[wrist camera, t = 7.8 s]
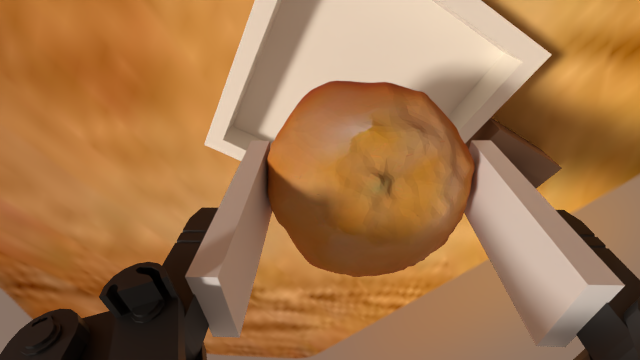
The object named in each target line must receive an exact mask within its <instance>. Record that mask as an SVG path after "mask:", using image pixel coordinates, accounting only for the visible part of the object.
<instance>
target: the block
mask: <svg viewBox="0 0 640 360" xmlns="http://www.w3.org/2000/svg"><path fill="white" fill-rule="evenodd" d="M471 140H491V141H492V142H493V143H494V144H495V145H496V146H497V147H498V149H499V150H500V151H501V152H502V153H503V154H504V155H505V156H506V157H507V158H508V159H509V160H510V162H511V163H512V164H513V165H514V166H515V167H516V168H517V169H518V170H519V171H520V172H521V173H522V175H523V176H524V177H525V178H526V179H527V180H528V181H529V182H530V183H531V184H532V185H533V186H534V188H535V189H536V188H537V187H538V186H540V185H541V184H542V183H543V182H545V181H546V180H547V179H549V178H550V177H551V176H552V175H554V174H555V173H556V172H558V171H559V170H560V169H561V167H560V166H559V165H558V164H557V163H555V162H554V161H553V160H552V159H551V158H550V157H549V156H547V155H546V154H545V153H544V152H543V151H542V150H540V149H539V148H537V147H536V146H534V145H533V144H531V143H529V142H528V141H526V140H525V139H523V138H522V137H520V136H518V135H517V134H515V133H514V132H512V131H511V130H509V129H507V128H506V127H504V126H503V125H501V124H500V123H498V122H496V121H495V120H493V119H492V118H490V119H489V120H488V121H487V122H486V123H485V124H484V125H483V126H482V127H481V128H480V129H479V130H478V131H477V132H476V133H475V134H474V135H473V136H472V137H471V138H470V139H469V140H468V141H467V142H466V143H465V144H466V146H467V147H468V149H469V147H470V143H471Z"/></svg>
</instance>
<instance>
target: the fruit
mask: <svg viewBox="0 0 640 360" xmlns="http://www.w3.org/2000/svg"><path fill="white" fill-rule="evenodd" d="M267 162H268V191H267V192H268V197H269V201H270V205H271V209H272V211H273V212H274V214H275V217H276V219H277V221H278V222H279V223H280V224H281V225H282V226H283V227H284V228H285V229H286V231H287V232H288V234H289V236H290V238H291V239H292V241H293V243H294V244H295V246H296V247H297V249H298V250H299V251H300V253H301V254H302V255H303V256H304V258H305V259H306V260H307V261H308V262H309V263H310V264H312V265H313V266H315V267H317V268H320V269H324V270H327V271H330V272H334V273H338V274H347V275H350V276H353V277H362V276H377V275H382V274H389V273H394V272H397V271H400V270H404V269H405V268H407V267H408V266H414V265H415V264H416V263H418V262H419V261H422V260H424V259H425V258H426V257H427V256H429V254H430V253H432V252H434V251H436V250H437V249H438V248H440V247H441V246H442V245H444V244H445V243H446V241H447V240H448V238H449V235H450V234H451V233H452V232H453V231H454V229H455V227H456V226H457V224H458V223H459V222H460V220H461V219H462V216H463V213H464V211H465V209H466V205H467V200H468V197H469V194H470V190H471V183H472V176H473V173H474V170H475V163H474V160H473V158H472V155H471V154H470V152H469V149H468V147H467V146H466V144H465V143H464V142H463V140H462V138H461V137H460V135H459V132H458V130H457V128H456V127H455V125H454V124H453V123H452V122H451V121H450V119H449V118H448V117H447V116H446V115H445V114H444V113H443V111H442V110H441V109H440V108H439V107H438V106H437V105H436V104H435V103H434V102H433V101H432V100H431V99H430V98H429V96H428V95H427V94H425V93H424V92H421V91H416V90H412V89H409V88H406V87H403V86H399V85H396V84H393V83H389V82H375V83H366V82H354V81H330V82H327V83H325V84H323V85H321V86H318V87H316V88H314V89H312V90H311V91H310V92H308V93H307V94H306V95H305V96H304V97H303V98H302V99H301V100H300V102H299V103H298V104H297V106H296V107H295V109H294V110H293V111H292V113H291V114H290V116H289V117H288V119H287V120H286V122H285V123H284V125H283V126H282V128H281V130H280V131H279V133H278V134H277V136H276V138H275V140H274V141H273V142H272V144H271V148H270V152H269V154H268V158H267Z"/></svg>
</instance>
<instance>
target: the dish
mask: <svg viewBox="0 0 640 360" xmlns="http://www.w3.org/2000/svg"><path fill="white" fill-rule="evenodd" d="M551 55H552V54H550V53H549V52H548V51H546V50H545V49H544V48H543V47H541V46H540V45H539V44H537V43H536V42H535V41H533V40H532V39H531V38H530V37H528V36H527V35H526V34H524V33H523V32H522V31H520V30H519V29H518V28H517V27H515V26H514V25H513V24H511V23H510V22H509V21H507V20H506V19H505V18H503V17H502V16H501V15H500V14H498V13H497V12H496V11H494V10H493V9H492V8H490V7H489V6H488V5H487V4H485V3H484V2H483V1H481V0H255V2H254V4H253V7H252V10H251V13H250V16H249V19H248V22H247V24H246V27H245V30H244V33H243V36H242V39H241V41H240V44H239V47H238V50H237V53H236V56H235V59H234V61H233V64H232V67H231V70H230V73H229V76H228V78H227V81H226V84H225V87H224V90H223V93H222V96H221V98H220V101H219V104H218V107H217V110H216V113H215V115H214V118H213V121H212V124H211V127H210V130H209V133H208V135H207V138H206V141H205V144H204V145H206V146H208V147H211V148H213V149H215V150H217V151H220V152H222V153H224V154H226V155H228V156H231V157H233V158H235V159H237V160H240V161H242V159H243V157H244V155H245V153H246V151H247V149H248V147H249V144H250V142H251V141H270V148H271V144H272V142H273V141H274V140H275V138H276V136H277V134H278V133H279V131H280V130H281V128H282V126H283V125H284V123H285V122H286V120H287V119H288V117H289V116H290V114H291V113H292V111H293V110H294V109H295V107H296V106H297V104H298V103H299V102H300V100H301V99H302V98H303V97H304V96H305V95H306V94H307V93H308V92H310V91H311V90H312V89H314V88H316V87H318V86H321V85H323V84H325V83H327V82H330V81H354V82H366V83H375V82H389V83H393V84H396V85H399V86H403V87H406V88H409V89H412V90H416V91H421V92H424V93H425V94H427V95H428V96H429V98H430V99H431V100H432V101H433V102H434V103H435V104H436V105H437V106H438V107H439V108H440V109H441V110H442V111H443V113H444V114H445V115H446V116H447V117H448V118H449V119H450V121H451V122H452V123H453V124H454V125H455V127H456V128H457V130H458V132H459V135H460V137H461V138H462V140H463V142H464V143H466V142H467V141H468V140H469V139H470V138H471V137H472V136H473V135H474V134H475V133H476V132H477V131H478V130H479V129H480V128H481V127H482V126H483V125H484V124H485V123H486V122H487V121H488V120H489V119H490V118H491V117H492V116H493V115H494V113H495V112H496V111H497V110H498V109H499V108H500V107H501V106H502V105H503V104H504V103H505V102H506V101H507V100H508V99H509V98H510V97H511V96H512V95H513V94H514V93H515V92H516V91H517V90H518V89H519V88H520V87H521V86H522V85H523V84H524V83H525V82H526V81H527V80H528V79H529V78H530V77H531V76H532V75H533V73H534V72H535V71H536V70H537V69H538V68H539V67H540V66H541V65H542V64H543V63H544V62H545V61H546V60H547V59H548V58H549V57H550V56H551Z"/></svg>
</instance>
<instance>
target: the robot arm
mask: <svg viewBox="0 0 640 360" xmlns="http://www.w3.org/2000/svg"><path fill="white" fill-rule="evenodd" d="M269 152H270V141H251V142H250V144H249V147H248V149H247V151H246V153H245V155H244V157H243V159H242V161H241V163H240V165H239V167H238V169H237V171H236V173H235V175H234V177H233V179H232V181H231V183H230V185H229V188H228V190H227V192H226V194H225V196H224V198H223V200H222V202H221V204H220V206H219V208H201V209H200V210H199V211H198V212H196V213H195V214H194V215H193V216H192V217H191V218H190V219H189V221H188V222H187V224H186V226H185V227H184V229H183V233H181V234H180V236H179V238H178V239H177V243H175V245H174V246H173V248H172V250H171V251H170V253H169V255H168V256H167V258H166V260H165V262H164V263H163V265H162V266H161V265H160V264H158V263H153V262H145V263H138V264H135V265H133V266H130V267H128V268H126V269H124V270H122V271H121V272H119V273H118V274H117V275H115V276H114V277H113V278H112V279H111V280H110V281H109V282H108V283H107V284H106V285H105V286H104V288H103V290H102V292H101V294H100V296H99V298H100V299H101V300H102V302H103V303H104V304H105V305H106V307H107V308H108V309H109V310H110V311H108V312H104V313H100V314H97V315H93V316H89V317H85V318H81V317H80V316H79V315H78V314H77V313H75V312H74V311H72V310H71V309H58V310H54V311H51V312H47V313H45V314H43V315H41V316H39V317H37V318H35V319H33V320H32V321H31V322H30V323H28V324H27V325H26V326H24V327H23V328H22V329H20V330H19V331H18V333H17V334H16V335H15V336H14V337H13V338H12V339H11V340H10V341H9V343H8V344H7V345H6V347H5V348H4V350H3V351H2V353H1V354H0V360H207V357H206V349H205V345H204V342H203V341H204V338H205V335H206V332H207V329H208V327H209V329H210V331H211V333H212V335H213V337H240V334H241V330H242V326H243V322H244V318H245V314H246V310H247V307H248V303H249V299H250V295H251V291H252V287H253V283H254V279H255V276H256V272H257V268H258V264H259V260H260V256H261V252H262V248H263V245H264V241H265V237H266V233H267V229H268V225H269V221H270V217H271V214H272V209H271V205H270V201H269V197H268V192H267V191H268V162H267V158H268V154H269ZM469 152H470V154H471V155H472V158H473V160H474V163H475V170H474V173H473V176H472V183H471V190H470V194H469V197H468V200H467V205H466V209H465V211H464V213H465V215H466V216H467V218H468V220H469V222H470V224H471V226H472V228H473V229H474V231H475V233H476V235H477V237H478V239H479V241H480V242H481V244H482V246H483V248H484V250H485V252H486V254H487V255H488V257H489V259H490V261H491V263H492V265H493V267H494V268H495V270H496V272H497V274H498V276H499V278H500V279H501V282H502V283H503V285H504V287H505V289H506V291H507V293H508V295H509V296H510V298H511V300H512V302H513V304H514V306H515V307H516V309H517V311H518V313H519V315H520V317H521V319H522V321H523V322H524V324H525V326H526V328H527V330H528V332H529V333H530V335H531V337H532V339H533V341H534V343H535V345H536V346H551V347H555V346H556V347H566V346H567V345H568V344H569V343H570V341H572V340H573V339H574V338H575V337H576V336H578V338H579V339H580V341H581V342H582V344H583V345H584V347H585V349H584V350H583V351H582V352H581V353H580V354H579V355H578V356H577V357H576V358H575V359H573V360H640V280H639V279H638V278H637V277H636V276H635V275H634V274H633V273H632V272H631V271H630V270H629V269H628V268H627V267H626V266H625V265H624V264H623V263H622V262H621V261H620V260H619V259H618V258H617V257H616V256H615V255H614V254H613V253H612V252H611V251H610V250H609V249H606V248H605V244H604V243H603V242H602V241H601V240H599V238H598V237H595V236H594V233H593V232H592V231H591V230H590V229H589V228H588V227H587V226H586V225H585V224H584V223H583V222H582V221H580V220H579V219H577V218H576V217H574V216H572V215H571V214H569V213H568V212H566V211H565V210H555V209H554V208H553V207H552V206H551V205H550V204H549V203H548V202H547V200H546V199H545V198H544V197H543V196H542V195H541V194H540V193H539V192H538V191H537V190H536V189H535V188H534V186H533V185H532V184H531V183H530V182H529V181H528V180H527V179H526V178H525V177H524V176H523V175H522V173H521V172H520V171H519V170H518V169H517V168H516V167H515V166H514V165H513V164H512V163H511V162H510V160H509V159H508V158H507V157H506V156H505V155H504V154H503V153H502V152H501V151H500V150H499V149H498V147H497V146H496V145H495V144H494V143H493V142H492V141H491V140H471V143H470V147H469Z"/></svg>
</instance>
